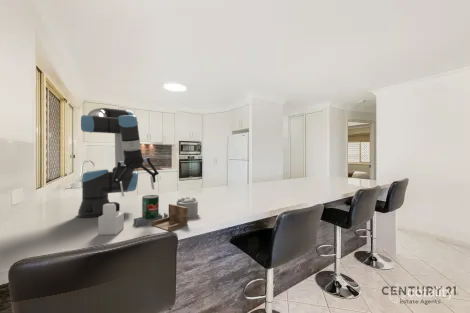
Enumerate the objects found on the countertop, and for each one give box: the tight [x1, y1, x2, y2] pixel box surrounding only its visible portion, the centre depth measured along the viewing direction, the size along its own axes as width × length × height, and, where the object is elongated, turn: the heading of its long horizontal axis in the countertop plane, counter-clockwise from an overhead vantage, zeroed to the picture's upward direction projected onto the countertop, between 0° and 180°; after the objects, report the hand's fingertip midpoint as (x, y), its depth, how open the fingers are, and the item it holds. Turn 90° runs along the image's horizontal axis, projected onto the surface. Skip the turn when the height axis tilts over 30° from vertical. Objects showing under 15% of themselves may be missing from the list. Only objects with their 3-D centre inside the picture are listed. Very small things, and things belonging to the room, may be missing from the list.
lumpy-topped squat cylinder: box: [176, 196, 199, 218], centre depth 117 cm, size 10×13×9 cm
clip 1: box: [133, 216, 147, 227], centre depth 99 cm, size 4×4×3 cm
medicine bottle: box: [97, 201, 125, 236], centre depth 90 cm, size 7×7×12 cm
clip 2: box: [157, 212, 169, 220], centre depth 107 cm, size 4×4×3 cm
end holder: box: [151, 203, 189, 232], centre depth 98 cm, size 12×10×8 cm
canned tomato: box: [141, 194, 160, 221], centre depth 109 cm, size 8×8×11 cm
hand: (138, 191), depth 105 cm, fingers open, 13 cm apart
